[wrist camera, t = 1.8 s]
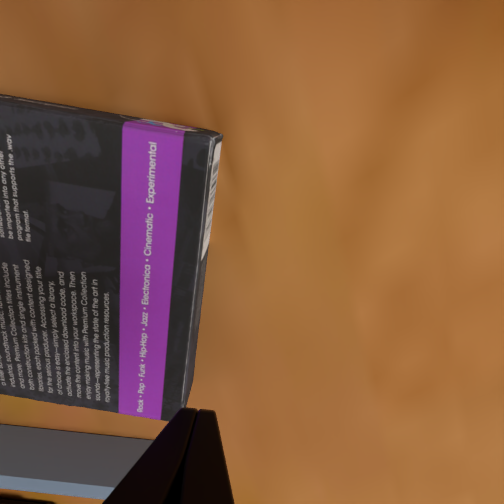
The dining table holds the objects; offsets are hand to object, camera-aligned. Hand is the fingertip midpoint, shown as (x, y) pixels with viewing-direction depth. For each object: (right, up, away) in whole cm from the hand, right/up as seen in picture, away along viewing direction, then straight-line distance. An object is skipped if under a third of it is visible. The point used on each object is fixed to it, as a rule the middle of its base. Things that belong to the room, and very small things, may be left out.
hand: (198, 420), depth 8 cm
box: (-10, +5, +9) cm, 14 cm away
